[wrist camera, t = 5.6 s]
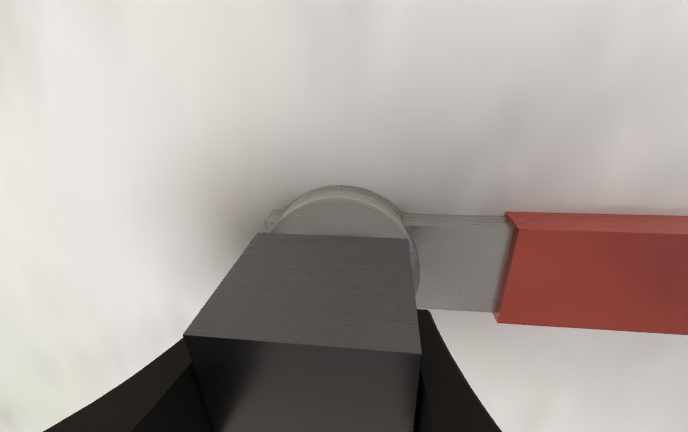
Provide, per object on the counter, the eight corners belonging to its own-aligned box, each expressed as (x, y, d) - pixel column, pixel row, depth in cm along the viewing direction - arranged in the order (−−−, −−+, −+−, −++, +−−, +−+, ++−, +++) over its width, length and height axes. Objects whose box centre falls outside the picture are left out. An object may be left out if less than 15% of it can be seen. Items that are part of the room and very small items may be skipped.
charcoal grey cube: (408, 238, 10) (421, 353, 6) (400, 350, 13) (405, 489, 9) (257, 232, 11) (182, 334, 7) (275, 340, 13) (225, 465, 9)
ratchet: (763, 190, 11) (945, 254, 8) (684, 326, 14) (791, 422, 10) (266, 182, 14) (220, 230, 10) (283, 302, 16) (252, 374, 13)
